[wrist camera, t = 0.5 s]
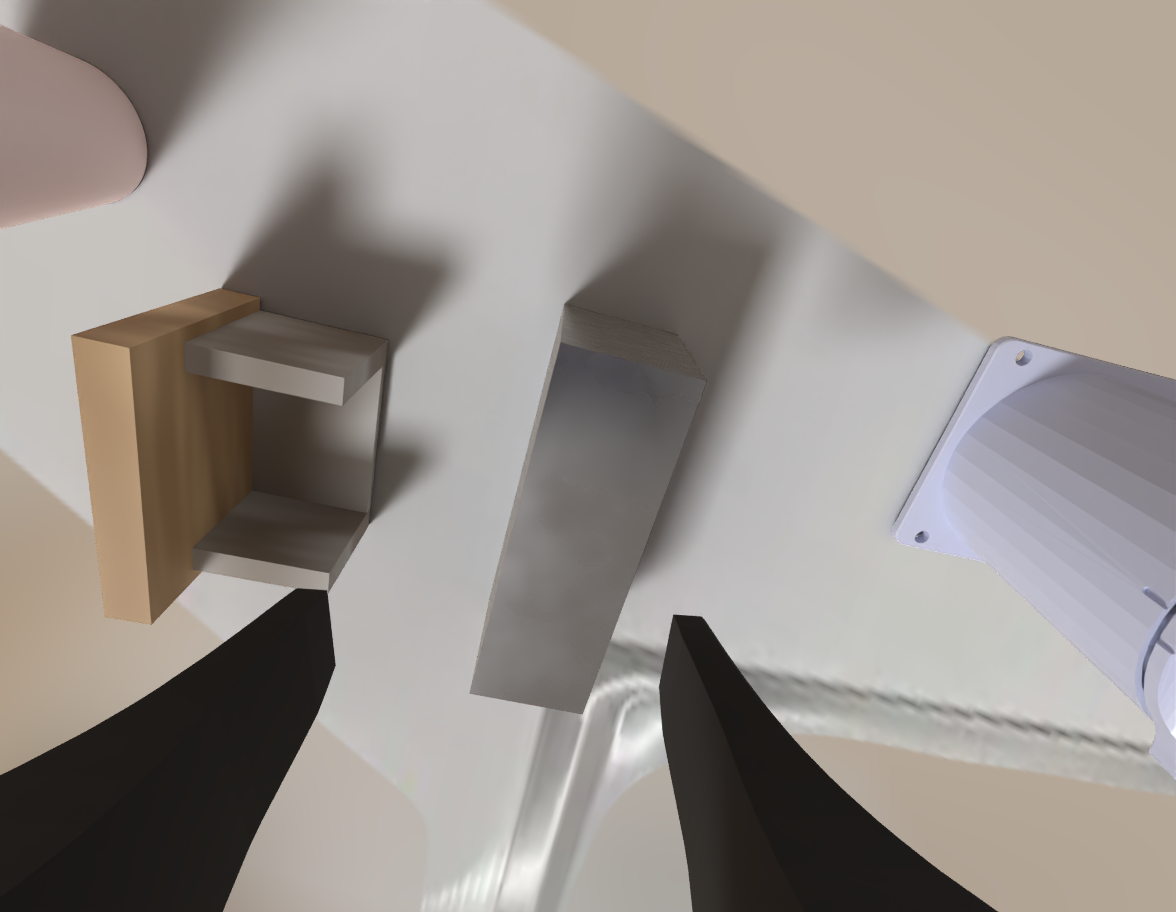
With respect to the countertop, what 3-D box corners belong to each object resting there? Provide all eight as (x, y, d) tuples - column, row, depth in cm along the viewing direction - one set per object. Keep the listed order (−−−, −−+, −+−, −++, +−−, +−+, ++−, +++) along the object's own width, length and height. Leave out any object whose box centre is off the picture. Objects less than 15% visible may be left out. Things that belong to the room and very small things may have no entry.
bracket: (389, 327, 19) (314, 388, 14) (367, 534, 22) (300, 649, 17) (220, 288, 18) (71, 335, 13) (223, 506, 22) (105, 617, 16)
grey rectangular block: (564, 302, 19) (560, 342, 15) (676, 333, 20) (707, 381, 15) (490, 595, 24) (469, 693, 19) (581, 614, 24) (582, 714, 20)
